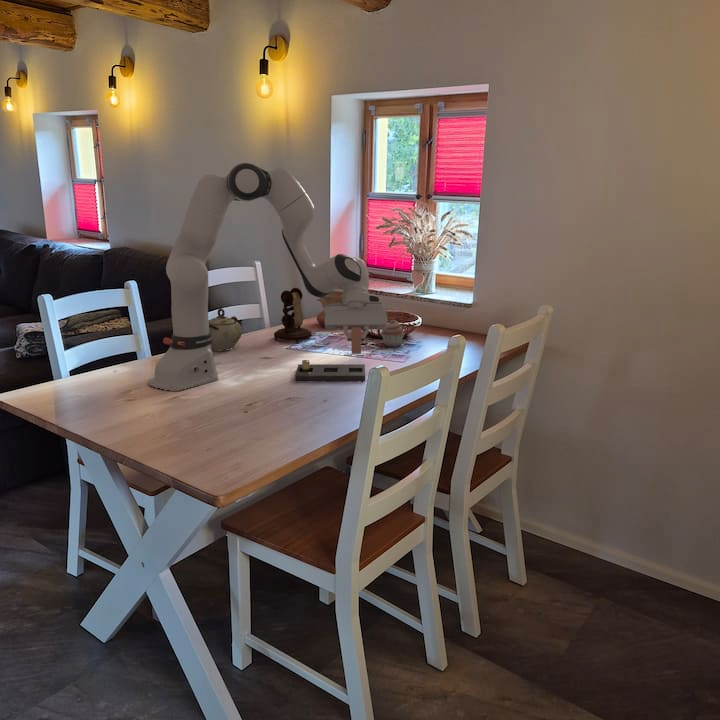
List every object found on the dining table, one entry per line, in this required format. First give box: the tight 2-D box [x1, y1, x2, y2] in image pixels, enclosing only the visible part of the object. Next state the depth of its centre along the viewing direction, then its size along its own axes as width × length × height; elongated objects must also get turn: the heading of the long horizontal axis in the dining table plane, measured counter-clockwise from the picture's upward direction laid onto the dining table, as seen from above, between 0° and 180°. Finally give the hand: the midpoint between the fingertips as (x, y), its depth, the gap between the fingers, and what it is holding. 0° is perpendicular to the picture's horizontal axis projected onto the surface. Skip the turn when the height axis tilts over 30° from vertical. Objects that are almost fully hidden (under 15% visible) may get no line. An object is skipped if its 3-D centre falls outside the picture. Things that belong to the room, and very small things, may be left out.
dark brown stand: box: [273, 287, 313, 344], centre depth 242 cm, size 15×15×20 cm
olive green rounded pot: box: [209, 308, 243, 351], centre depth 230 cm, size 20×15×15 cm
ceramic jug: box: [316, 290, 343, 327], centre depth 265 cm, size 18×14×14 cm
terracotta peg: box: [350, 327, 362, 355], centre depth 197 cm, size 3×3×8 cm
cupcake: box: [380, 319, 405, 348], centre depth 235 cm, size 9×9×10 cm
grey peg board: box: [294, 359, 366, 383], centre depth 199 cm, size 22×12×5 cm, turn 90°
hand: (356, 339), depth 196 cm, fingers closed on terracotta peg, 3 cm apart
